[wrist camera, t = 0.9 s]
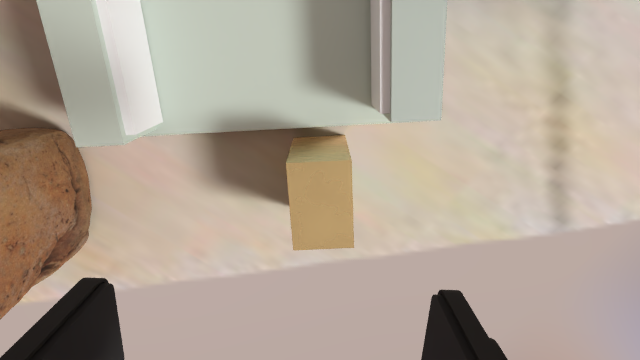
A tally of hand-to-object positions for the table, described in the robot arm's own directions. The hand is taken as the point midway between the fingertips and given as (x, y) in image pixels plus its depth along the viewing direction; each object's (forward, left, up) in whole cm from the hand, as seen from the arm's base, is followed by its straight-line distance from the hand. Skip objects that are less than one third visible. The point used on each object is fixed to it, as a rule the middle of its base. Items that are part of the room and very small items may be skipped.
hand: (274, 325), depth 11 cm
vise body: (+2, -8, -20) cm, 22 cm away
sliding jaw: (-7, -8, -18) cm, 21 cm away
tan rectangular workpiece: (-1, +2, -20) cm, 20 cm away
